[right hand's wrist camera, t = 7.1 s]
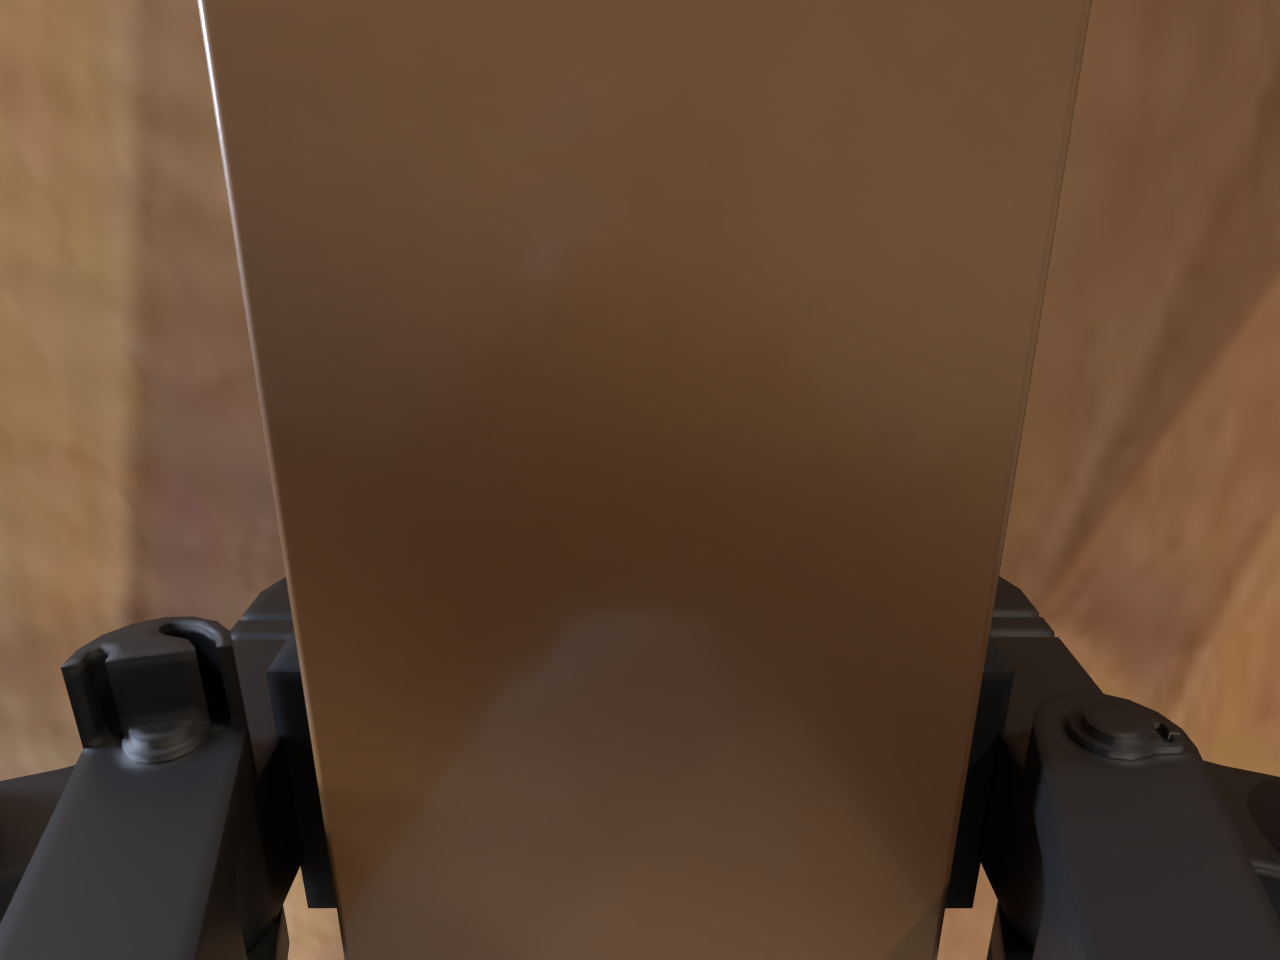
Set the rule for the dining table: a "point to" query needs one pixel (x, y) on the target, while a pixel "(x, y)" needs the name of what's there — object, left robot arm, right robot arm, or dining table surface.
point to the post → (642, 447)
